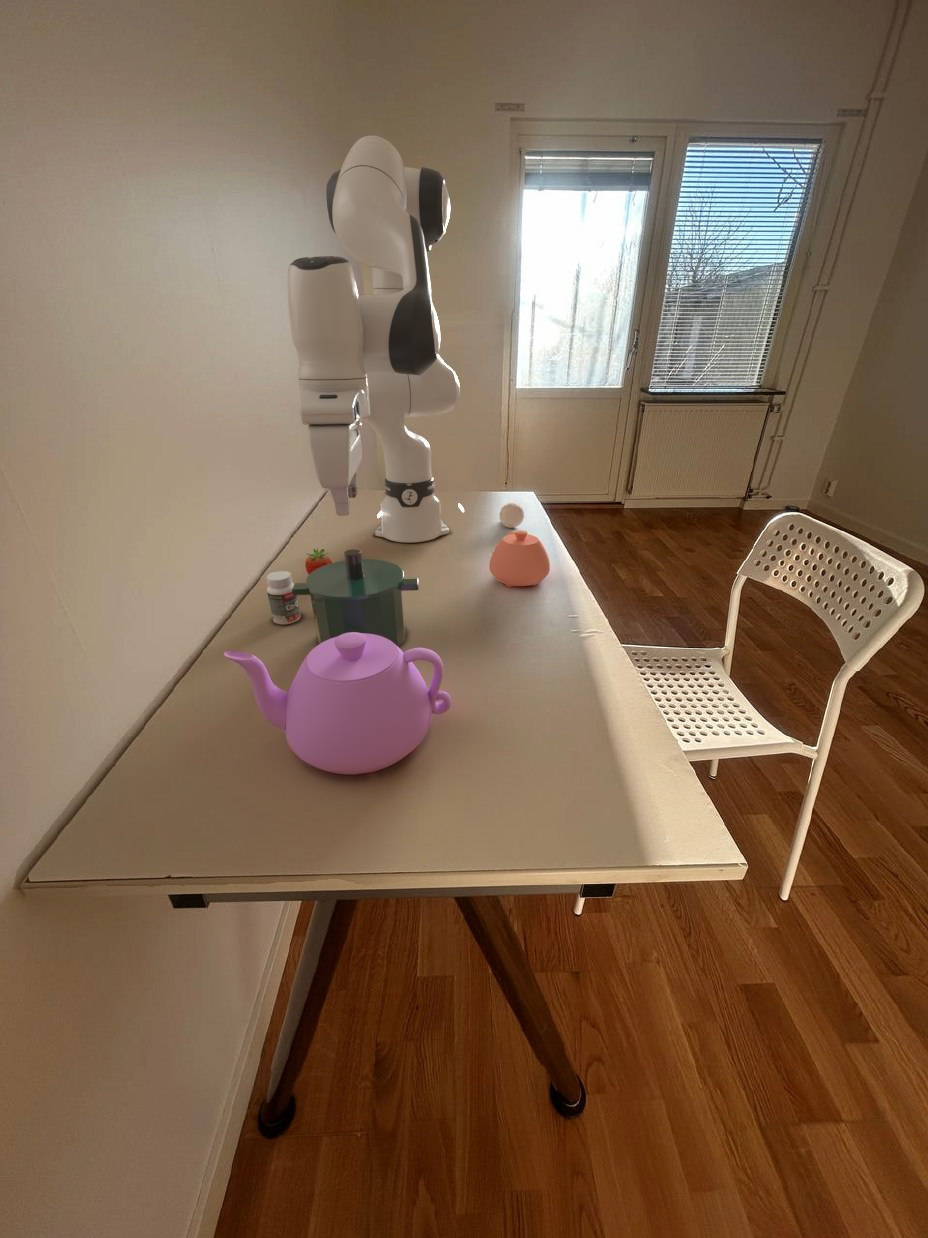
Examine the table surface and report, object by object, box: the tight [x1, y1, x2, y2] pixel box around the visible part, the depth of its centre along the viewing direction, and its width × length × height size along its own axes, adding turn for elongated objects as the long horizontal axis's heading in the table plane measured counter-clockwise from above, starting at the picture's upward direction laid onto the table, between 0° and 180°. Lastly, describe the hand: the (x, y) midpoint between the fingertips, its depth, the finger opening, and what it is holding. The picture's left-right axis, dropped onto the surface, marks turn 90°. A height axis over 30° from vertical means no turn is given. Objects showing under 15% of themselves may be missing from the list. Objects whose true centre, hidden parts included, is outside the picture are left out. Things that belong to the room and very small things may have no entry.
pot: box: [292, 578, 419, 648], centre depth 83 cm, size 14×19×10 cm
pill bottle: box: [266, 570, 301, 625], centre depth 89 cm, size 5×5×8 cm
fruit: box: [304, 548, 333, 575], centre depth 102 cm, size 5×5×8 cm
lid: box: [305, 548, 405, 601], centre depth 79 cm, size 15×15×5 cm
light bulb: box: [498, 502, 525, 529], centre depth 137 cm, size 7×7×11 cm
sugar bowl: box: [488, 529, 551, 588], centre depth 104 cm, size 12×14×10 cm
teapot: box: [223, 632, 452, 776], centre depth 61 cm, size 25×18×14 cm
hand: (347, 505), depth 75 cm, fingers open, 8 cm apart
